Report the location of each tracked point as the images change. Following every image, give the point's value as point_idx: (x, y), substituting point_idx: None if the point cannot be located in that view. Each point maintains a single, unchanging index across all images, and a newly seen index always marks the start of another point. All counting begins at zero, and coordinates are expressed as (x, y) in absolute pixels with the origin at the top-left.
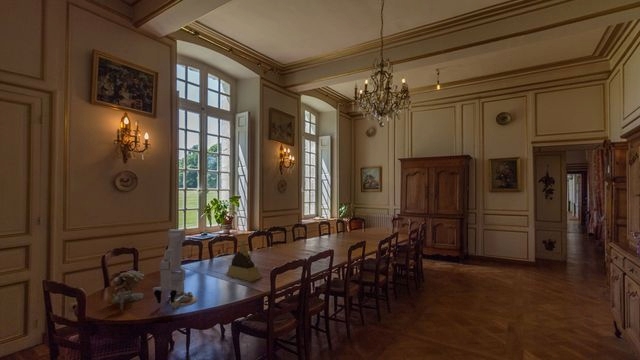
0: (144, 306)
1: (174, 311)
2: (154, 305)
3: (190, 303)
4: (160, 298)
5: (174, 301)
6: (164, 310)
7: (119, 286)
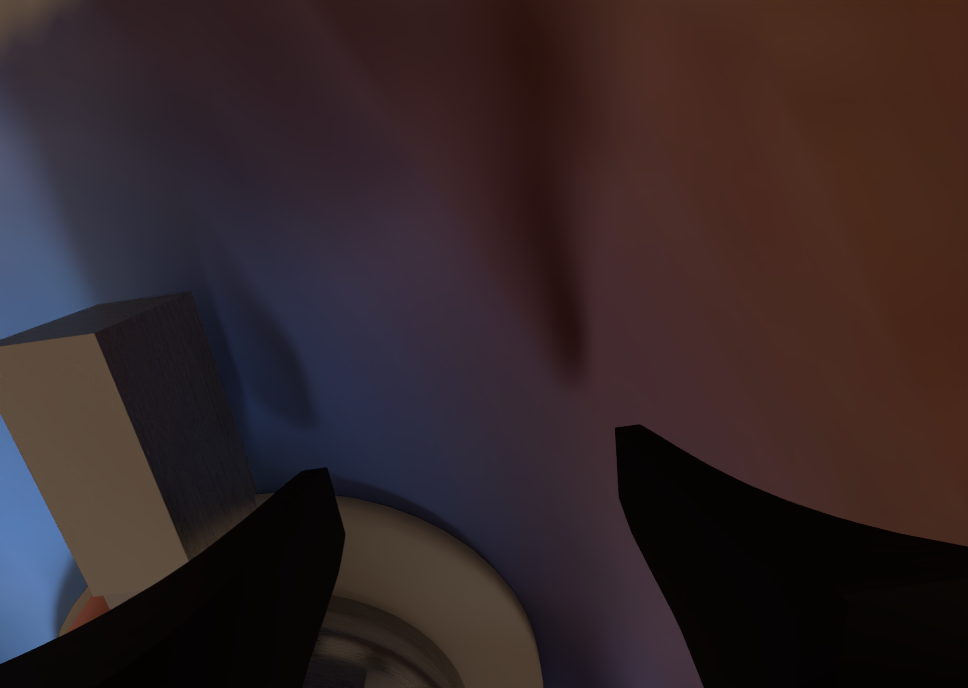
0: (919, 405)
1: (112, 236)
2: (743, 473)
3: (70, 615)
4: (656, 562)
5: (84, 432)
6: (381, 262)
7: None
